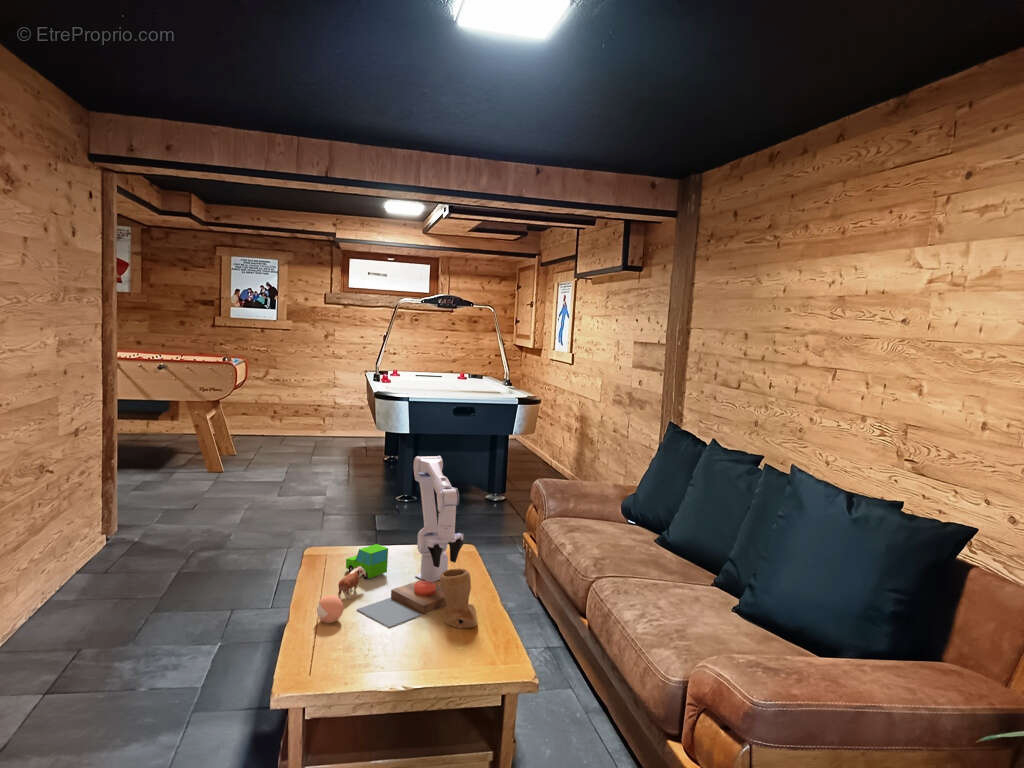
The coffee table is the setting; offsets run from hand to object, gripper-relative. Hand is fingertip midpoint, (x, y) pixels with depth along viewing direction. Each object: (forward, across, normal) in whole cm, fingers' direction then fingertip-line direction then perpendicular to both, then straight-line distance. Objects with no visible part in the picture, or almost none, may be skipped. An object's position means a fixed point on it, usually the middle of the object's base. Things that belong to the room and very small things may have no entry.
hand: (444, 564), depth 218 cm
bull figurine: (+10, -24, +19) cm, 32 cm away
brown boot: (+11, -9, -16) cm, 22 cm away
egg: (+11, -40, +7) cm, 42 cm away
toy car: (+10, -9, +32) cm, 34 cm away
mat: (+11, -22, 0) cm, 25 cm away
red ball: (+8, -8, 0) cm, 11 cm away
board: (+11, -8, +1) cm, 14 cm away
